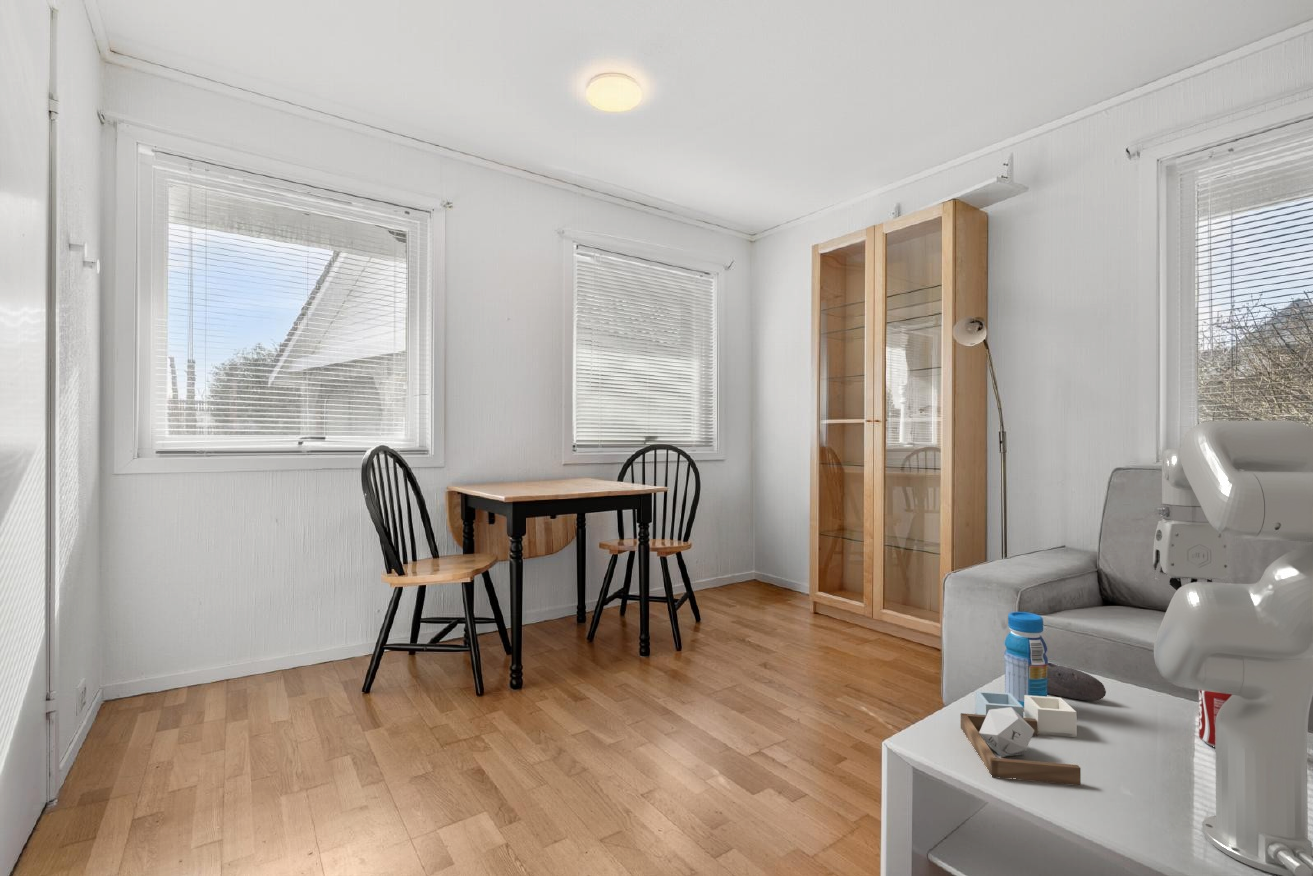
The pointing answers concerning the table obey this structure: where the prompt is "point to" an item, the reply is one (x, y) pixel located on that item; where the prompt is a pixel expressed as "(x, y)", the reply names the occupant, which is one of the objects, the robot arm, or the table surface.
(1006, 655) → the beverage bottle
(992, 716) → the die
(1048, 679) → the perforated stone tool
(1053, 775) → the walnut bay
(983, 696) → the greyblue cup
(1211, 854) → the table surface
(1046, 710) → the offwhite cup
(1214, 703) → the soda can
